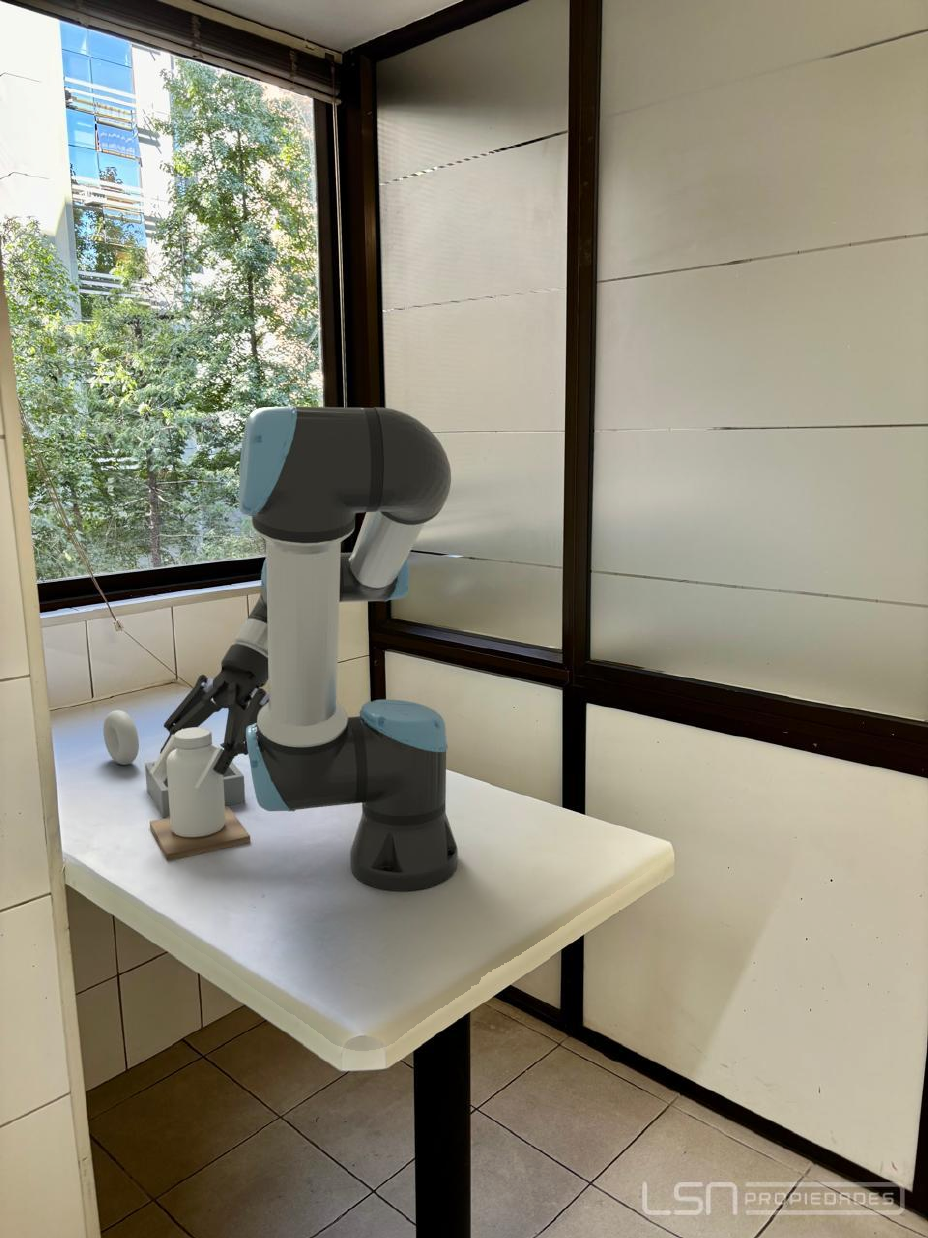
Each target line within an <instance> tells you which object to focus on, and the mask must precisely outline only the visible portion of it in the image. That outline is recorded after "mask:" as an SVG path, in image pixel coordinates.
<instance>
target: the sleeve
mask: <svg viewBox="0 0 928 1238" xmlns="http://www.w3.org/2000/svg"><path fill="white" fill-rule="evenodd" d="M155 763H156V761H151V762H146V763H144V771H145V772H144V773H145V783H146V784H145V785H146V791H147V792H148V794H149V795H150V797H151V799H152V801H153V802H154V804H155V806H156V808H157V809H158V812H159V813H160V815H161V817H162V819H165V818H170V809H169V794H168V779H167V778H166V779H165V781H164V782H163V781H160V780H159V779H158V778H156V777H155V776H153V775H152V774H150V771H151V769H152V768H153V766H154V764H155ZM223 783H224V801H225V806H231V805H235V804H240V803H244V802H245V803H246V795H245V793H246V792H245V775H244V774H243V773H242V772H241V770H239V768H238V767H237V766H236V764H234V762H233V761H232V762H231V764H230V766H229V767H228V769H227V771H226V773H225V774H224V775H223Z"/></svg>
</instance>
